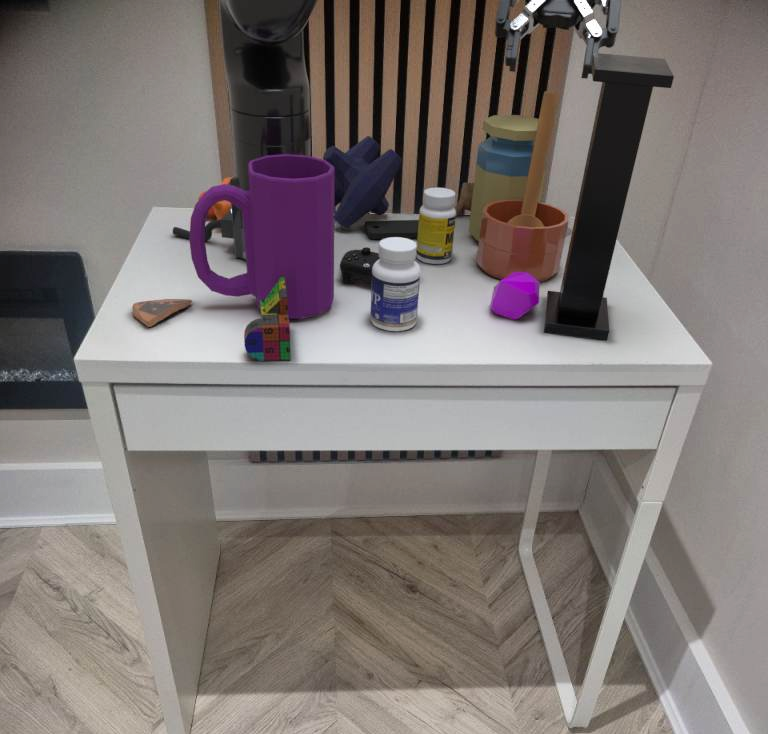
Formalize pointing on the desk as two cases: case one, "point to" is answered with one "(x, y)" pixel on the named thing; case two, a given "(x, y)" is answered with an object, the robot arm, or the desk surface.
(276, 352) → the puzzle-patterned holder
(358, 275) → the game controller
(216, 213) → the orange fox figurine
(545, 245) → the bowl
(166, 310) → the pottery shard
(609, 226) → the shelf stand
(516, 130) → the jar
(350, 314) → the desk surface
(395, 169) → the tetrapod
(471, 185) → the brown paper bag
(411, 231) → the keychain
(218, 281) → the mug
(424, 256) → the supplement bottle
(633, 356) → the desk surface
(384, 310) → the pill bottle
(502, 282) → the crystal
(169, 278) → the desk surface
